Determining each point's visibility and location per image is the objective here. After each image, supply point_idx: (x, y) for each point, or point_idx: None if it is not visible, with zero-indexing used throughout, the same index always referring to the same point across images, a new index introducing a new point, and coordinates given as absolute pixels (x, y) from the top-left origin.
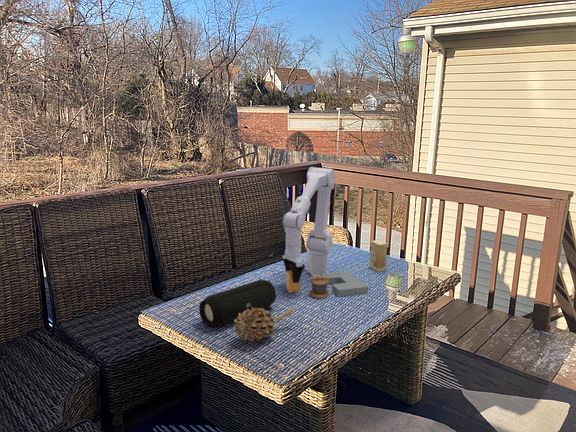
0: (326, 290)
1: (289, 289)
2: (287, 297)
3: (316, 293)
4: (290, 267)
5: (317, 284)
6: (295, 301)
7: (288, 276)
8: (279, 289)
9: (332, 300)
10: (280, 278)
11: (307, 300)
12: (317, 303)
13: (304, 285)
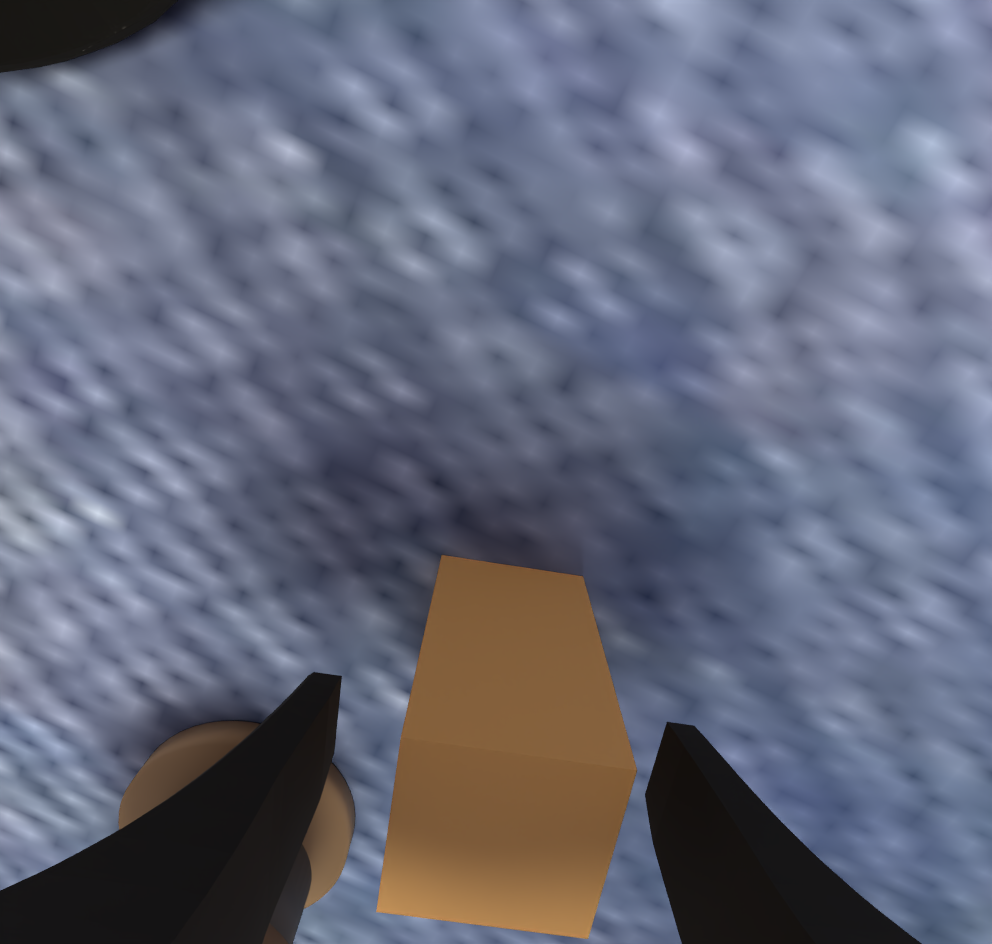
0: None
1: (438, 574)
2: (289, 456)
3: None
4: (26, 932)
5: None
6: (132, 491)
7: (482, 700)
8: (589, 480)
9: (50, 843)
10: (925, 655)
11: (121, 630)
12: (9, 685)
13: None
